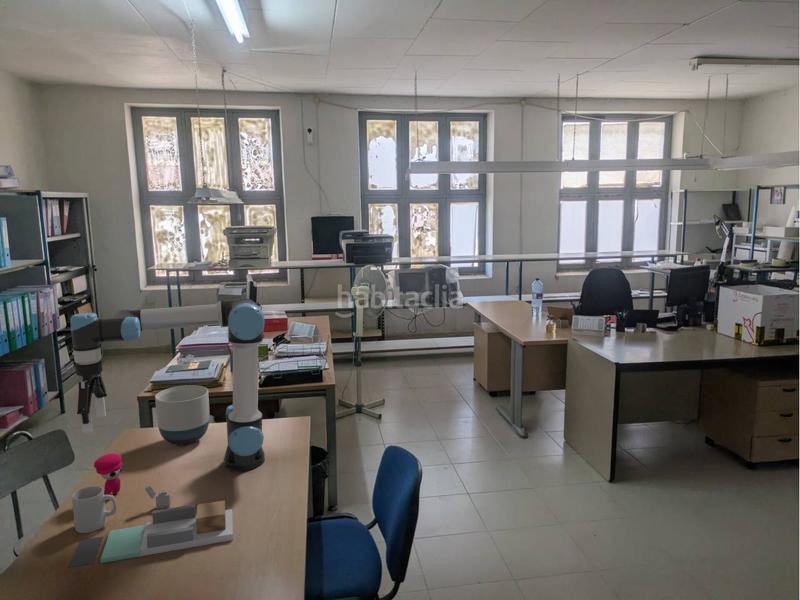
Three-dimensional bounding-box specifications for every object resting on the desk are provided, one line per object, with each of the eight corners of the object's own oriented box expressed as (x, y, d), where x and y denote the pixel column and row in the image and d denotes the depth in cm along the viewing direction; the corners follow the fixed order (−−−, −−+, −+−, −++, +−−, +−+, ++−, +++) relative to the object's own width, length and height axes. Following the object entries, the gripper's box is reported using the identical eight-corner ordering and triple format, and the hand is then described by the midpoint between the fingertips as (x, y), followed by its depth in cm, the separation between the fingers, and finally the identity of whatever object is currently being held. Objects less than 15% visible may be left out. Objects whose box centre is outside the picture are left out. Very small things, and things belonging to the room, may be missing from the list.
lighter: (170, 504, 180) (168, 482, 179) (169, 507, 178) (168, 484, 177) (147, 507, 178) (145, 484, 177) (146, 510, 176) (144, 487, 175)
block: (225, 515, 170) (224, 500, 169) (225, 529, 163) (224, 514, 162) (198, 519, 168) (197, 504, 167) (197, 534, 160) (196, 518, 159)
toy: (113, 504, 180) (109, 462, 177) (91, 501, 181) (87, 459, 179) (130, 491, 188) (127, 450, 185) (109, 489, 190) (105, 448, 187)
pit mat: (103, 539, 162) (102, 536, 162) (93, 566, 150) (93, 563, 150) (80, 543, 161) (80, 540, 160) (68, 570, 148) (68, 567, 148)
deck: (232, 514, 174) (231, 499, 173) (233, 540, 161) (232, 523, 160) (147, 528, 166) (145, 512, 165) (140, 556, 153) (138, 538, 152)
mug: (71, 535, 163) (67, 501, 161) (80, 519, 171) (76, 487, 169) (114, 529, 166) (111, 496, 164) (121, 514, 174) (118, 482, 172)
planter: (151, 441, 228) (147, 392, 225) (199, 428, 242) (196, 382, 238) (169, 457, 213) (165, 405, 210) (219, 442, 227) (216, 393, 223)
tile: (147, 528, 166) (146, 524, 166) (140, 556, 153) (140, 552, 153) (110, 534, 163) (110, 530, 163) (100, 563, 150) (100, 558, 150)
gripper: (88, 352, 185) (94, 411, 189) (60, 373, 161) (68, 441, 165) (112, 350, 187) (118, 409, 190) (88, 371, 163) (95, 438, 166)
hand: (94, 424), depth 178 cm, fingers open, 13 cm apart
